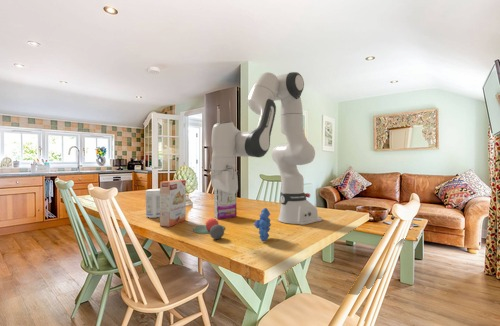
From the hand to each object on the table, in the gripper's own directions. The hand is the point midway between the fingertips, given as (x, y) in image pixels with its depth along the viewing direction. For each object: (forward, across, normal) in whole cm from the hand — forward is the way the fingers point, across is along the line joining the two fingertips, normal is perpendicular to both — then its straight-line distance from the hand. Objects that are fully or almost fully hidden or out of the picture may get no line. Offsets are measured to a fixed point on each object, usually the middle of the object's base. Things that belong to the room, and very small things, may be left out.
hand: (223, 202), depth 93 cm
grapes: (+15, -3, -15) cm, 21 cm away
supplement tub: (+15, +58, +20) cm, 63 cm away
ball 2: (+12, +6, +1) cm, 14 cm away
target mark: (+15, +20, 0) cm, 25 cm away
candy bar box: (+15, +39, -14) cm, 44 cm away
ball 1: (+12, +16, 0) cm, 21 cm away
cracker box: (+15, +38, +13) cm, 43 cm away
